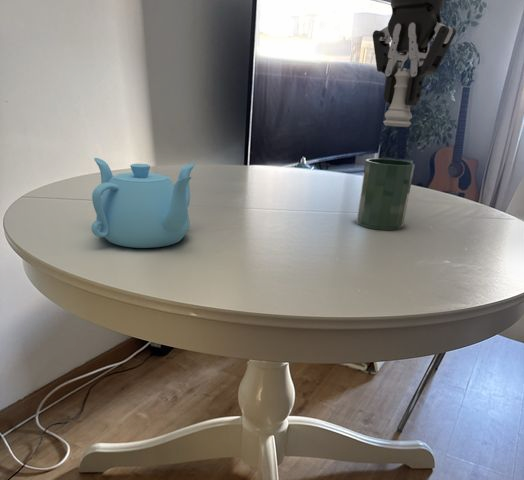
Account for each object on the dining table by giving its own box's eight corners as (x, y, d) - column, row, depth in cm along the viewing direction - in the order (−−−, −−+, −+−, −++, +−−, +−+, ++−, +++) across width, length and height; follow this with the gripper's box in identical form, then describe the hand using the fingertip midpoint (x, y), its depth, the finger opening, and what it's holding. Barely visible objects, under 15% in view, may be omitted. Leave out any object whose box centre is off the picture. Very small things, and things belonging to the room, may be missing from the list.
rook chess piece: (414, 126, 78) (425, 69, 74) (405, 127, 75) (415, 68, 71) (388, 124, 80) (397, 69, 76) (378, 125, 77) (387, 67, 73)
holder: (376, 217, 90) (386, 157, 85) (411, 227, 85) (424, 164, 80) (347, 221, 86) (356, 159, 81) (382, 232, 80) (394, 166, 75)
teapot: (80, 252, 63) (69, 170, 58) (103, 223, 76) (95, 154, 71) (193, 254, 65) (191, 175, 60) (196, 226, 78) (195, 158, 73)
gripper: (483, -34, 65) (452, 107, 73) (399, -21, 75) (380, 103, 83) (452, -45, 61) (423, 106, 69) (367, -30, 70) (351, 101, 79)
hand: (400, 103), depth 76 cm, fingers closed on rook chess piece, 3 cm apart
